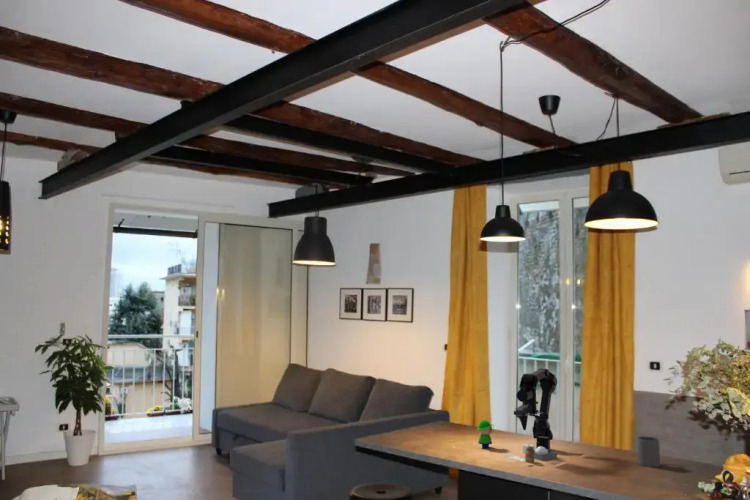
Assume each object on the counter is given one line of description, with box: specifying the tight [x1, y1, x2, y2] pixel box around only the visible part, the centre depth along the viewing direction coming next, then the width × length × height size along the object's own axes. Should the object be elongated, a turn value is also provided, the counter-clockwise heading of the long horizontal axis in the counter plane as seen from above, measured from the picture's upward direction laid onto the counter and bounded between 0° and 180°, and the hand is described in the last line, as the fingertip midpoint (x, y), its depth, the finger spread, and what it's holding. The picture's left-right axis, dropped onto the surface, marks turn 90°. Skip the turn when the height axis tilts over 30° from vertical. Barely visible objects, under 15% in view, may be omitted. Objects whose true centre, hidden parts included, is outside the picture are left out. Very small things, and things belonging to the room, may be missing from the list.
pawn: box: [524, 446, 535, 464], centre depth 292 cm, size 4×4×7 cm
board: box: [501, 453, 537, 468], centre depth 301 cm, size 20×22×1 cm
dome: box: [534, 446, 548, 454], centre depth 301 cm, size 6×6×5 cm
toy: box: [476, 420, 495, 450], centre depth 323 cm, size 9×9×15 cm
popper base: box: [534, 449, 558, 462], centre depth 301 cm, size 10×10×3 cm
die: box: [522, 443, 535, 454], centre depth 310 cm, size 4×4×4 cm
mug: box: [637, 436, 661, 468], centre depth 293 cm, size 14×9×12 cm
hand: (531, 431), depth 309 cm, fingers open, 9 cm apart
